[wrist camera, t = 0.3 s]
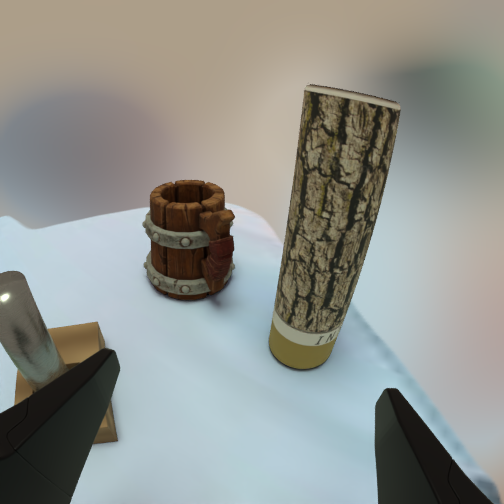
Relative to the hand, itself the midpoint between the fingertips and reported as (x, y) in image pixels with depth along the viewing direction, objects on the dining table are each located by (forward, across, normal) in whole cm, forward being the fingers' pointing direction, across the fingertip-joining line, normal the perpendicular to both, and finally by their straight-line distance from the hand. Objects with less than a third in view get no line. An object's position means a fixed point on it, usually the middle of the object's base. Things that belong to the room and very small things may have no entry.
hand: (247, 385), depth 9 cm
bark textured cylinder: (+18, -4, +16) cm, 24 cm away
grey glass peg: (+5, +16, +16) cm, 24 cm away
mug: (+26, +9, +15) cm, 32 cm away
